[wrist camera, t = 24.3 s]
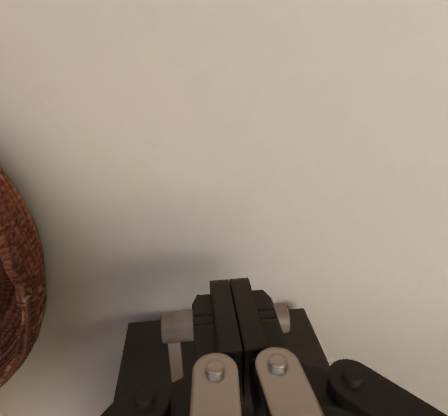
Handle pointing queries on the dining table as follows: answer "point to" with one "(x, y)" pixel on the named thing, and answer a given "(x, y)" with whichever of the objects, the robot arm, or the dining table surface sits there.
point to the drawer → (184, 348)
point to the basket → (18, 280)
